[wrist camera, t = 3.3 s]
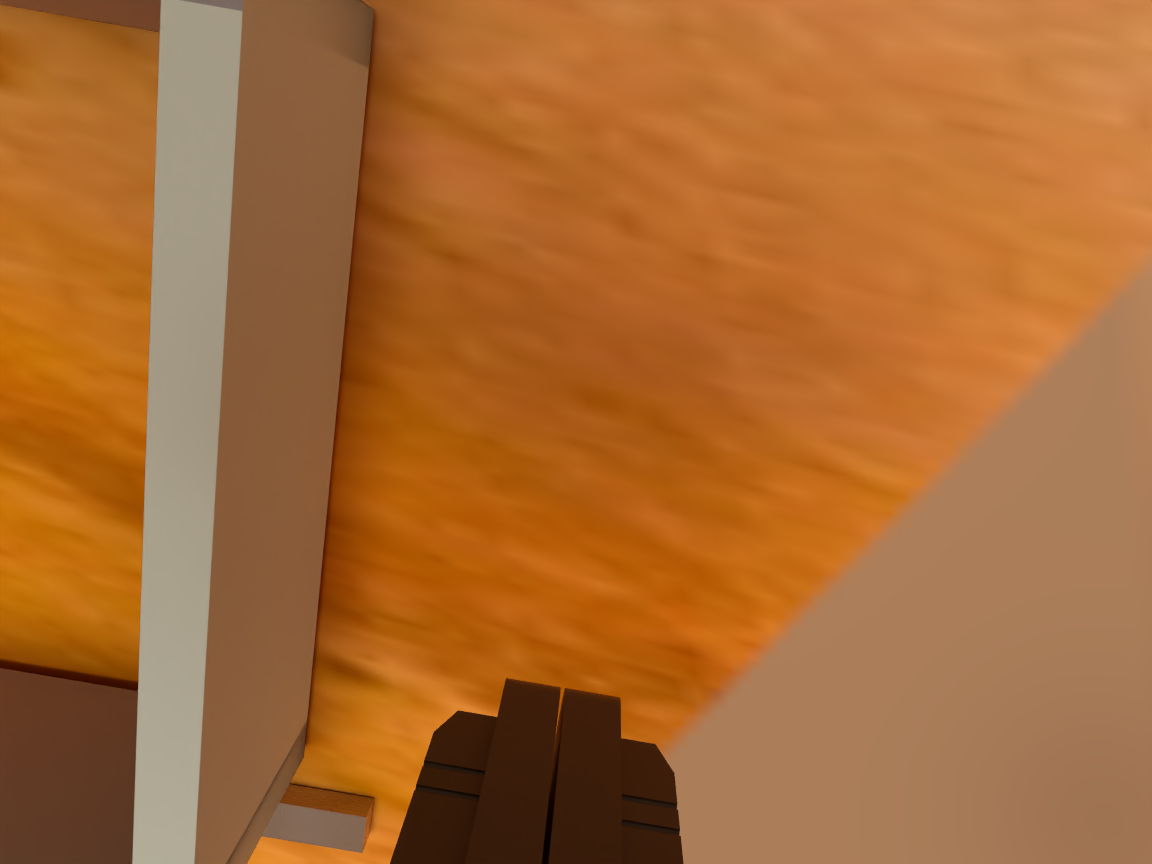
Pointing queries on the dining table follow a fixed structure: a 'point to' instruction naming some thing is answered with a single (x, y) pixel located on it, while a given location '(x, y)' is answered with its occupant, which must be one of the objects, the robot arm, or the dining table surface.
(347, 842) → the rails
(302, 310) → the gray u-shaped wall
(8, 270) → the dining table surface
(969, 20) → the dining table surface
